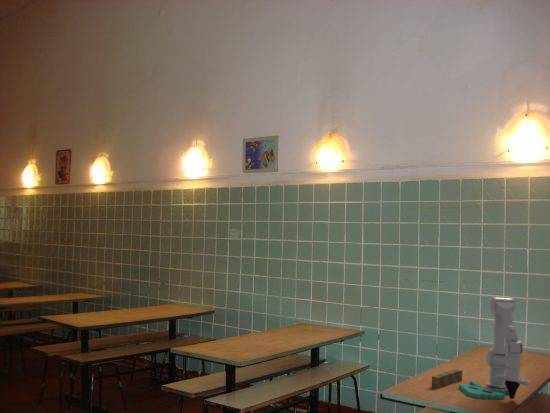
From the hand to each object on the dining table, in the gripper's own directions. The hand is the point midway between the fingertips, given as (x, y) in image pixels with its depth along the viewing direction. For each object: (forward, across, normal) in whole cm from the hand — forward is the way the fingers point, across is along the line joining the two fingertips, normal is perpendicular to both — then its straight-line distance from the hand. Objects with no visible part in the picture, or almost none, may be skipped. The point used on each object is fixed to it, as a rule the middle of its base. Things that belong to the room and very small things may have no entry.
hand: (511, 398), depth 249 cm
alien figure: (+2, -14, 0) cm, 14 cm away
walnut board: (+1, -32, 0) cm, 32 cm away
